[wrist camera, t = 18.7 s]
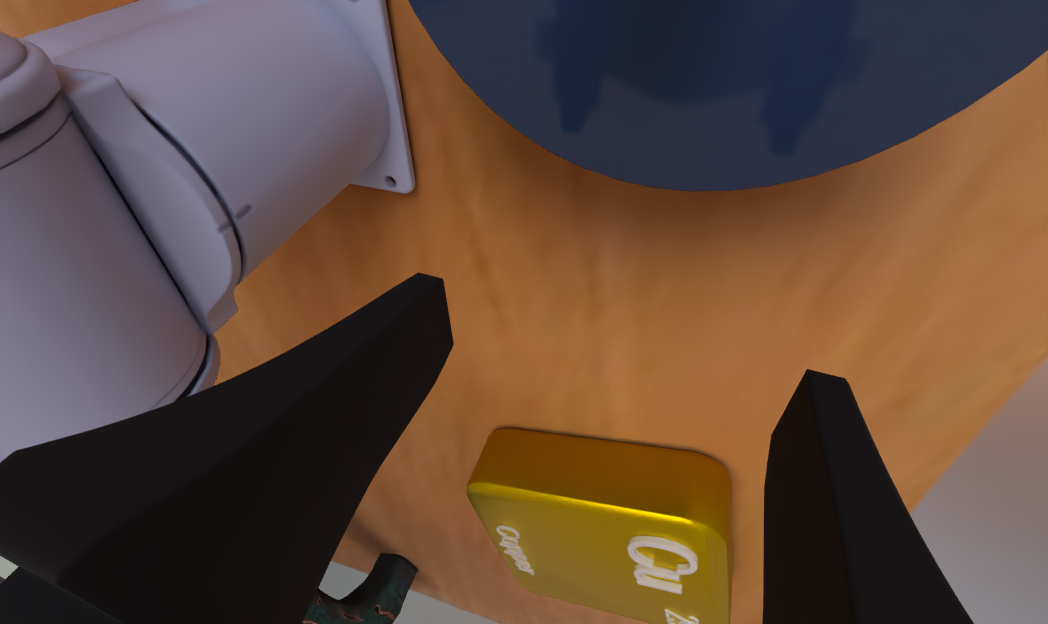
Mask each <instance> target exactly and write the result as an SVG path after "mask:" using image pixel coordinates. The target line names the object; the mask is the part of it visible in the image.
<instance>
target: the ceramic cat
mask: <svg viewBox="0 0 1048 624" xmlns="http://www.w3.org/2000/svg"><path fill="white" fill-rule="evenodd" d="M417 571H418V570H417V569H416V568H415V567H414V566H413V565H412V564H411V563H409V562H408V561H407V560H406V559H405V558H403V557H401V556H398V555H394V554H382V553H381V554H380V556H379V557H378V559H377V561H376V563H375V565H374V567H373V569H372V571H371V573H370V574H369V575H368V577H367V578H366V580H365V581H364V582H363V583H362V584H361V585H359V586H358V587H357V588H356V589H355V590H354V591H353V592H351V593H350V594H349V595H348V596H346V597H344V598H343V599H341V600H336V599H334V598H332V597H330V596H328V595H327V594H325V593H324V592H322V591H321V590H320V589H319V588H318V589H317V591H316V594H315V596H314V598H313V600H312V602H311V605H310V607H309V609H308V611H307V614H306V616H305V619H304V621H303V623H302V624H392V623H393V622H394V620H395V619H396V618H397V616H398V615H399V613H400V610H401V608H402V605H403V602H404V600H405V597H406V594H407V592H408V590H409V588H410V586H411V584H412V582H413V580H414V577H415V575H416V573H417Z"/></svg>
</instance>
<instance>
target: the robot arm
mask: <svg viewBox="0 0 1048 624" xmlns="http://www.w3.org/2000/svg"><path fill="white" fill-rule="evenodd" d="M390 177H392V178H393V179H394V180H395V181H396V183H395V182H393V181H392V180H391V179H390ZM415 182H416V181H415V175H414V169H413V163H412V157H411V151H410V145H409V139H408V133H407V127H406V121H405V115H404V109H403V103H402V97H401V91H400V85H399V79H398V73H397V67H396V61H395V55H394V49H393V43H392V37H391V30H390V24H389V18H388V12H387V6H386V0H139V1H136V2H133V3H130V4H126V5H123V6H120V7H117V8H114V9H110V10H107V11H104V12H101V13H98V14H94V15H91V16H88V17H85V18H82V19H78V20H75V21H72V22H69V23H66V24H62V25H59V26H56V27H53V28H50V29H46V30H43V31H40V32H37V33H34V34H30V35H28V36H25V37H23V38H21V39H19V38H16V37H11V36H9V35H7V34H5V33H3V32H0V556H2V557H3V558H5V559H7V560H9V561H10V562H12V563H14V564H16V565H17V566H19V567H18V568H17V569H16V570H15V571H14V572H13V573H12V574H11V575H10V576H8V577H7V578H6V579H4V578H2V577H0V624H302V623H303V621H304V619H305V616H306V614H307V611H308V609H309V607H310V605H311V602H312V600H313V598H314V596H315V594H316V591H317V589H318V587H319V585H320V583H321V580H322V578H323V576H324V574H325V572H326V570H327V567H328V565H329V563H330V561H331V559H332V557H333V555H334V553H335V551H336V549H337V547H338V545H339V543H340V541H341V539H342V537H343V535H344V533H345V531H346V529H347V527H348V525H349V523H350V521H351V519H352V517H353V515H354V513H355V511H356V509H357V507H358V505H359V503H360V502H361V500H362V498H363V496H364V494H365V492H366V490H367V488H368V486H369V485H370V483H371V481H372V479H373V478H374V476H375V474H376V473H377V471H378V469H379V468H380V466H381V464H382V463H383V461H384V460H385V458H386V457H387V455H388V454H389V452H390V451H391V449H392V448H393V446H394V445H395V443H396V442H397V440H398V439H399V437H400V436H401V434H402V433H403V431H404V430H405V428H406V427H407V425H408V424H409V422H410V421H411V419H412V418H413V416H414V415H415V413H416V412H417V410H418V409H419V407H420V406H421V404H422V403H423V401H424V400H425V398H426V397H427V395H428V393H429V392H430V390H431V389H432V387H433V386H434V384H435V382H436V380H437V378H438V376H439V374H440V372H441V370H442V368H443V366H444V364H445V362H446V360H447V358H448V356H449V354H450V351H451V349H452V347H453V345H454V343H453V337H452V331H451V325H450V318H449V312H448V306H447V300H446V294H445V287H444V281H443V279H442V278H438V277H434V276H430V275H426V274H422V273H417V274H415V275H413V276H412V277H410V278H408V279H407V280H405V281H403V282H402V283H400V284H398V285H397V286H395V287H394V288H392V289H391V290H389V291H387V292H386V293H384V294H383V295H381V296H380V297H378V298H376V299H375V300H373V301H372V302H370V303H368V304H367V305H365V306H364V307H362V308H360V309H359V310H357V311H356V312H354V313H352V314H351V315H349V316H347V317H346V318H344V319H343V320H341V321H339V322H338V323H336V324H335V325H333V326H331V327H329V328H328V329H326V330H324V331H322V332H321V333H319V334H317V335H315V336H314V337H312V338H310V339H308V340H306V341H305V342H303V343H301V344H299V345H298V346H296V347H294V348H292V349H290V350H289V351H287V352H285V353H283V354H281V355H279V356H277V357H275V358H273V359H271V360H269V361H267V362H265V363H263V364H261V365H259V366H257V367H255V368H253V369H251V370H249V371H247V372H244V373H242V374H240V375H238V376H236V377H234V378H232V379H229V380H227V381H225V382H222V383H220V384H218V385H215V386H213V385H214V383H215V381H216V379H217V376H218V371H219V367H220V349H219V346H218V342H217V339H216V338H215V336H214V333H215V332H216V331H217V330H218V329H219V328H220V327H222V326H223V325H224V324H225V323H226V322H227V321H228V320H229V319H230V318H231V317H232V316H233V315H234V314H235V313H236V312H237V311H238V307H237V304H236V302H235V299H234V289H235V287H236V286H237V285H238V284H239V283H240V282H241V281H242V280H243V279H244V278H246V277H247V276H248V275H249V274H250V273H251V272H252V271H253V270H254V269H256V268H257V267H258V266H259V265H260V264H261V263H262V262H263V261H264V260H266V259H267V258H268V257H269V256H270V255H271V254H272V253H273V252H274V251H276V250H277V249H278V248H279V247H280V246H281V245H282V244H283V243H284V242H286V241H287V240H288V239H289V238H290V237H291V236H292V235H293V234H294V233H295V232H297V231H298V230H299V229H300V228H301V227H302V226H303V225H304V224H305V223H307V222H308V221H309V220H310V219H311V218H312V217H313V216H314V215H315V214H317V213H318V212H319V211H320V210H321V209H322V208H323V207H324V206H325V205H327V204H328V203H329V202H330V201H331V200H332V199H333V198H334V197H335V196H337V195H338V194H339V193H340V192H341V191H342V190H343V189H344V188H345V187H347V186H348V185H349V184H355V185H360V186H365V187H371V188H376V189H381V190H387V191H392V192H398V193H403V194H408V193H409V192H411V191H412V190H413V189H414V187H415ZM763 624H974V623H973V621H972V620H971V619H970V617H969V615H968V614H967V612H966V611H965V609H964V608H963V606H962V604H961V603H960V601H959V600H958V598H957V596H956V595H955V593H954V592H953V590H952V588H951V587H950V585H949V583H948V582H947V580H946V578H945V577H944V575H943V573H942V572H941V570H940V568H939V567H938V565H937V563H936V561H935V559H934V558H933V556H932V554H931V552H930V551H929V549H928V547H927V546H926V544H925V542H924V540H923V538H922V537H921V535H920V533H919V531H918V529H917V528H916V526H915V524H914V522H913V520H912V518H911V516H910V514H909V513H908V511H907V509H906V507H905V505H904V503H903V501H902V499H901V497H900V495H899V493H898V491H897V489H896V487H895V485H894V483H893V481H892V479H891V477H890V475H889V473H888V471H887V469H886V467H885V465H884V463H883V461H882V458H881V456H880V454H879V452H878V450H877V448H876V445H875V443H874V441H873V439H872V437H871V434H870V432H869V430H868V428H867V425H866V423H865V421H864V419H863V416H862V414H861V412H860V409H859V407H858V404H857V402H856V400H855V397H854V395H853V392H852V390H851V387H850V385H849V383H848V382H847V380H846V379H845V378H841V377H837V376H833V375H829V374H825V373H821V372H817V371H813V370H809V369H807V370H806V372H805V374H804V376H803V378H802V380H801V381H800V383H799V385H798V387H797V389H796V391H795V392H794V394H793V396H792V398H791V400H790V402H789V404H788V405H787V407H786V409H785V411H784V413H783V415H782V416H781V418H780V420H779V422H778V424H777V426H776V428H775V429H774V431H773V433H772V435H771V442H770V449H769V455H768V462H767V470H766V478H765V486H764V596H763Z"/></svg>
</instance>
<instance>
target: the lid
mask: <svg viewBox="0 0 1048 624" xmlns="http://www.w3.org/2000/svg"><path fill="white" fill-rule="evenodd" d="M409 2H410V4H411V6H412V8H413V10H414V12H415V14H416V15H417V17H418V18H419V20H420V21H421V23H422V25H423V26H424V28H425V29H426V31H427V32H428V34H429V36H430V37H431V39H432V40H433V42H434V43H435V45H436V46H437V48H438V50H439V51H440V52H441V53H442V55H443V56H444V57H445V58H446V60H447V61H448V62H449V63H450V65H451V66H452V67H453V68H454V70H455V71H456V72H457V73H458V75H459V76H460V77H461V79H462V80H463V81H464V82H465V83H466V84H467V85H468V86H469V87H470V88H471V89H472V90H473V91H474V92H475V93H476V94H477V95H478V96H479V97H480V98H481V99H482V100H483V102H484V103H485V104H486V105H487V106H488V107H489V108H490V109H491V110H493V111H494V112H495V113H496V114H498V115H499V116H500V117H501V118H502V119H504V120H505V121H506V122H507V123H509V124H510V125H511V126H512V127H513V128H515V129H516V130H517V131H518V132H520V133H521V134H523V135H524V136H526V137H527V138H529V139H531V140H532V141H534V142H535V143H537V144H538V145H540V146H541V147H543V148H545V149H546V150H548V151H549V152H551V153H553V154H555V155H557V156H559V157H561V158H563V159H565V160H567V161H569V162H571V163H573V164H576V165H578V166H580V167H582V168H584V169H587V170H590V171H593V172H596V173H599V174H602V175H604V176H607V177H610V178H613V179H616V180H620V181H625V182H629V183H634V184H638V185H643V186H647V187H652V188H662V189H671V190H681V191H732V190H741V189H749V188H758V187H766V186H773V185H777V184H781V183H786V182H790V181H795V180H799V179H804V178H808V177H812V176H816V175H819V174H822V173H825V172H828V171H831V170H834V169H837V168H840V167H843V166H846V165H849V164H852V163H855V162H858V161H861V160H864V159H866V158H868V157H870V156H873V155H875V154H877V153H880V152H882V151H884V150H886V149H889V148H891V147H893V146H895V145H898V144H900V143H902V142H904V141H907V140H909V139H911V138H913V137H915V136H917V135H919V134H920V133H922V132H924V131H926V130H928V129H929V128H931V127H933V126H935V125H937V124H938V123H940V122H942V121H944V120H946V119H947V118H949V117H951V116H953V115H955V114H956V113H958V112H960V111H962V110H964V109H965V108H967V107H969V106H970V105H971V104H973V103H974V102H976V101H977V100H979V99H980V98H982V97H983V96H985V95H986V94H988V93H989V92H991V91H992V90H994V89H995V88H997V87H998V86H1000V85H1001V84H1003V83H1004V82H1006V81H1007V80H1009V79H1010V78H1012V77H1013V76H1015V75H1016V74H1017V73H1019V72H1020V71H1022V70H1023V69H1025V68H1026V67H1027V66H1028V65H1030V64H1031V63H1032V62H1033V61H1035V60H1036V59H1037V58H1038V57H1040V56H1041V55H1042V54H1043V53H1045V52H1046V51H1047V50H1048V0H409Z"/></svg>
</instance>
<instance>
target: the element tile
mask: <svg viewBox="0 0 1048 624" xmlns="http://www.w3.org/2000/svg"><path fill="white" fill-rule="evenodd" d="M466 493H467V496H468V498H469V500H470V502H471V504H472V505H473V507H474V509H475V511H476V512H477V514H478V516H479V518H480V519H481V521H482V523H483V524H484V526H485V528H486V530H487V531H488V533H489V535H490V537H491V538H492V540H493V542H494V543H495V545H496V547H497V549H498V550H499V552H500V554H501V556H502V557H503V559H504V561H505V562H506V564H507V566H508V568H509V569H510V571H511V573H512V575H513V576H514V577H515V579H516V580H517V581H518V582H519V583H520V584H521V585H522V586H523V587H524V588H525V589H527V590H529V591H531V592H534V593H537V594H541V595H545V596H548V597H552V598H556V599H560V600H564V601H567V602H571V603H575V604H579V605H583V606H586V607H590V608H594V609H598V610H602V611H606V612H609V613H613V614H617V615H621V616H625V617H628V618H632V619H636V620H640V621H644V622H647V623H651V624H730V617H731V597H732V578H733V550H732V484H731V480H730V476H729V474H728V472H727V471H726V469H725V468H724V467H723V465H721V464H720V463H718V462H717V461H715V460H714V459H712V458H710V457H707V456H705V455H702V454H699V453H695V452H692V451H684V450H677V449H669V448H661V447H653V446H646V445H638V444H630V443H622V442H614V441H607V440H599V439H591V438H583V437H575V436H568V435H560V434H552V433H544V432H536V431H529V430H521V429H507V428H506V429H500V430H496V431H494V432H493V433H492V434H491V435H490V436H489V437H488V439H487V441H486V444H485V446H484V448H483V450H482V453H481V455H480V457H479V459H478V461H477V464H476V466H475V468H474V470H473V473H472V475H471V477H470V479H469V481H468V484H467V489H466Z"/></svg>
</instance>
